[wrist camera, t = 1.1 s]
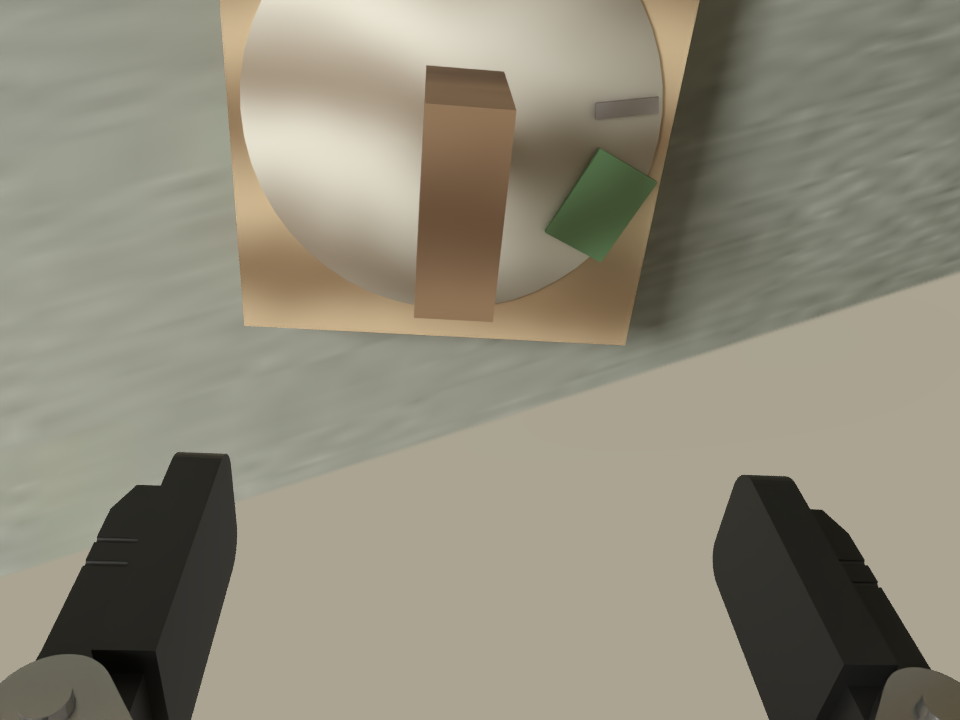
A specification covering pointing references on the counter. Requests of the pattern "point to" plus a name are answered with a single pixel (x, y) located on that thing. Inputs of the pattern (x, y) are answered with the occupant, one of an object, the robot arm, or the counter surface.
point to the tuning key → (462, 192)
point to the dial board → (398, 151)
